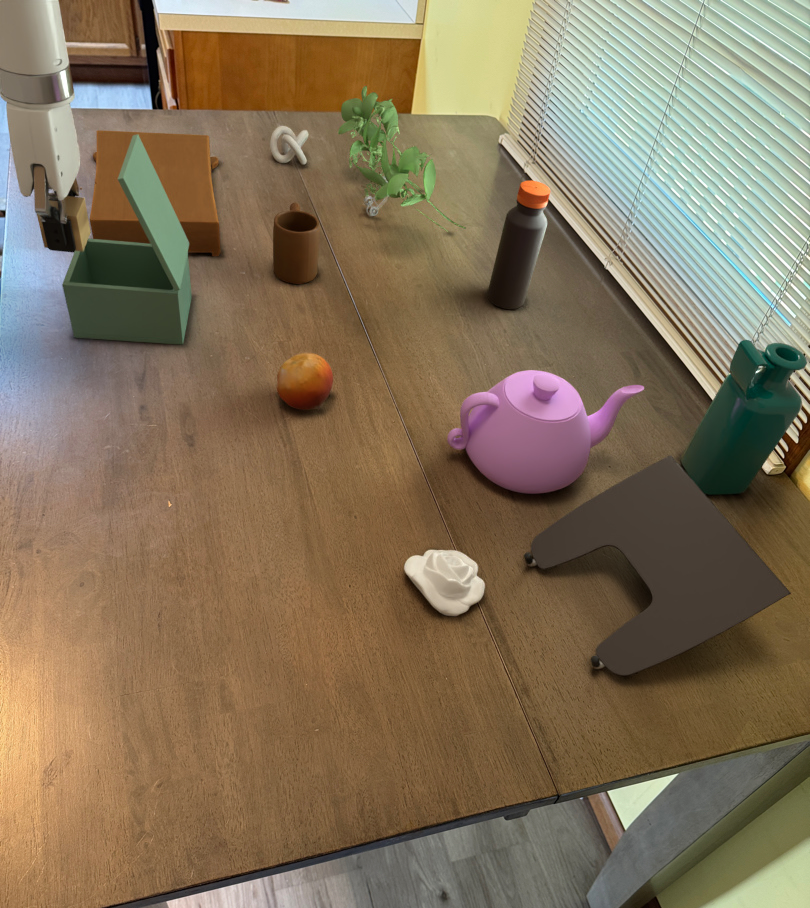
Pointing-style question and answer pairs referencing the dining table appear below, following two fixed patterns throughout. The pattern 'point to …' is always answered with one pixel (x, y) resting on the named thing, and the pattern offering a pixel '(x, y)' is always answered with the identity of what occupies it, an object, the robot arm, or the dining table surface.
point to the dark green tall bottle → (745, 419)
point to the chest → (125, 294)
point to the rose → (446, 580)
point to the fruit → (305, 381)
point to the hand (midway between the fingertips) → (67, 237)
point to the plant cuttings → (385, 153)
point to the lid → (154, 211)
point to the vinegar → (519, 246)
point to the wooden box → (181, 176)
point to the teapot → (533, 431)
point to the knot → (288, 144)
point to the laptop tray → (665, 564)
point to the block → (73, 220)
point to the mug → (295, 245)
